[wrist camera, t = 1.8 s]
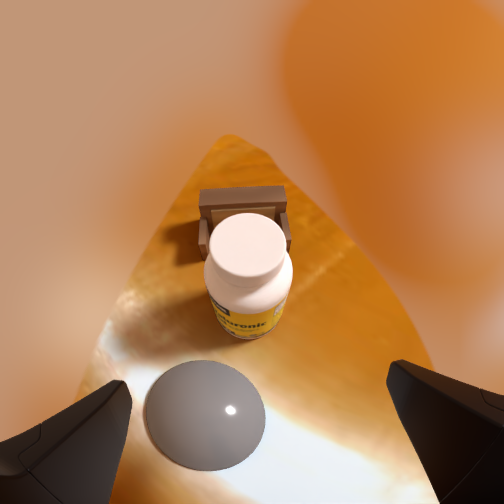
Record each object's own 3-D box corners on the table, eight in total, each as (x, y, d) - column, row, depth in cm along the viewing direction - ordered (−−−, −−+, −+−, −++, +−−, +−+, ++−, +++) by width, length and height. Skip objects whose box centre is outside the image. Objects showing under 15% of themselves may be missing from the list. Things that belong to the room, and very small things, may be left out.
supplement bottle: (204, 323, 21) (174, 261, 13) (234, 271, 24) (227, 190, 16) (264, 352, 20) (275, 307, 12) (291, 295, 23) (314, 222, 15)
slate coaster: (215, 490, 14) (214, 491, 13) (127, 416, 17) (125, 416, 16) (289, 406, 18) (289, 406, 17) (196, 339, 21) (195, 337, 20)
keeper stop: (288, 255, 25) (293, 228, 22) (202, 260, 25) (195, 233, 21) (281, 213, 28) (284, 185, 24) (204, 217, 27) (199, 189, 24)
